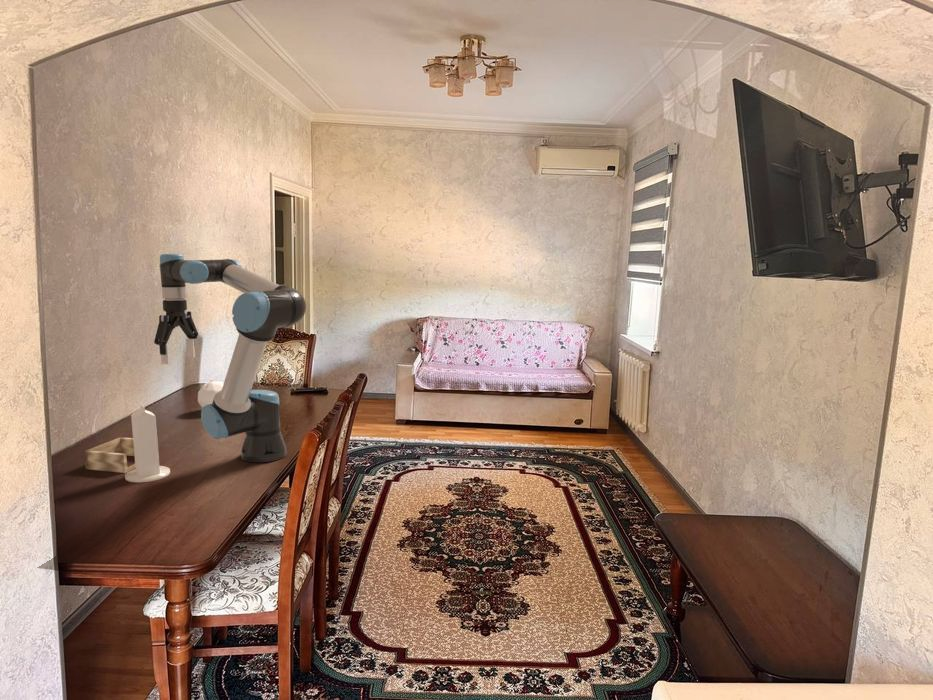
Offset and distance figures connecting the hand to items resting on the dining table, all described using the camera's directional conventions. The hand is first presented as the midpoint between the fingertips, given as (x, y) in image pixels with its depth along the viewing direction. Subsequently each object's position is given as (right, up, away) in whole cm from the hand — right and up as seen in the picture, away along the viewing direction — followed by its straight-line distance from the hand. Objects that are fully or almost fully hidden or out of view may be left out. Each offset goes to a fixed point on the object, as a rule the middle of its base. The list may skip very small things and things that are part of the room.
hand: (178, 360), depth 227 cm
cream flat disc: (-2, -36, -18) cm, 41 cm away
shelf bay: (-15, -34, -7) cm, 38 cm away
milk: (-2, -36, -19) cm, 40 cm away
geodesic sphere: (-9, -23, +58) cm, 63 cm away
